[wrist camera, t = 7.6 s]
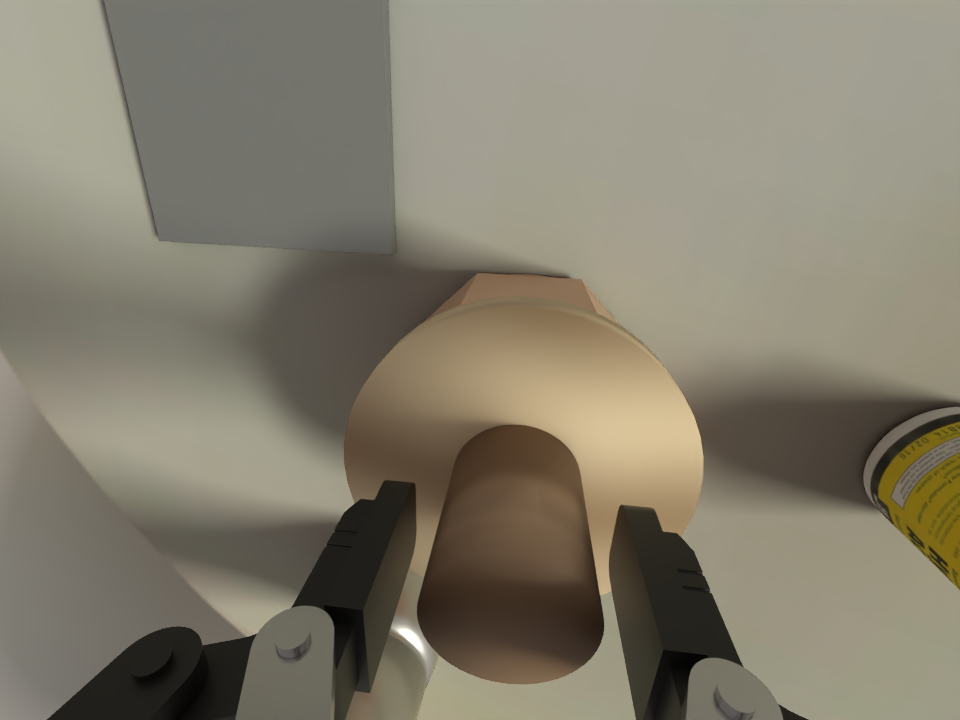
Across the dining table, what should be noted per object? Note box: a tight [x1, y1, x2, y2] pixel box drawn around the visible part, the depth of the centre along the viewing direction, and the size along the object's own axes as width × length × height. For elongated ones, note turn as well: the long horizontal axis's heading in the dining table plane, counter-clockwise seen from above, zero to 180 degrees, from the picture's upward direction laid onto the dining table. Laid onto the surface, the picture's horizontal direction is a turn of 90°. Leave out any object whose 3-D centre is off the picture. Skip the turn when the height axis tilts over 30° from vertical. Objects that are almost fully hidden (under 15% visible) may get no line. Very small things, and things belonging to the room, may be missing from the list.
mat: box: [104, 0, 396, 255], centre depth 15 cm, size 10×9×1 cm
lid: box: [344, 297, 704, 684], centre depth 11 cm, size 10×10×6 cm
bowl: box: [424, 273, 619, 325], centre depth 16 cm, size 9×9×5 cm
